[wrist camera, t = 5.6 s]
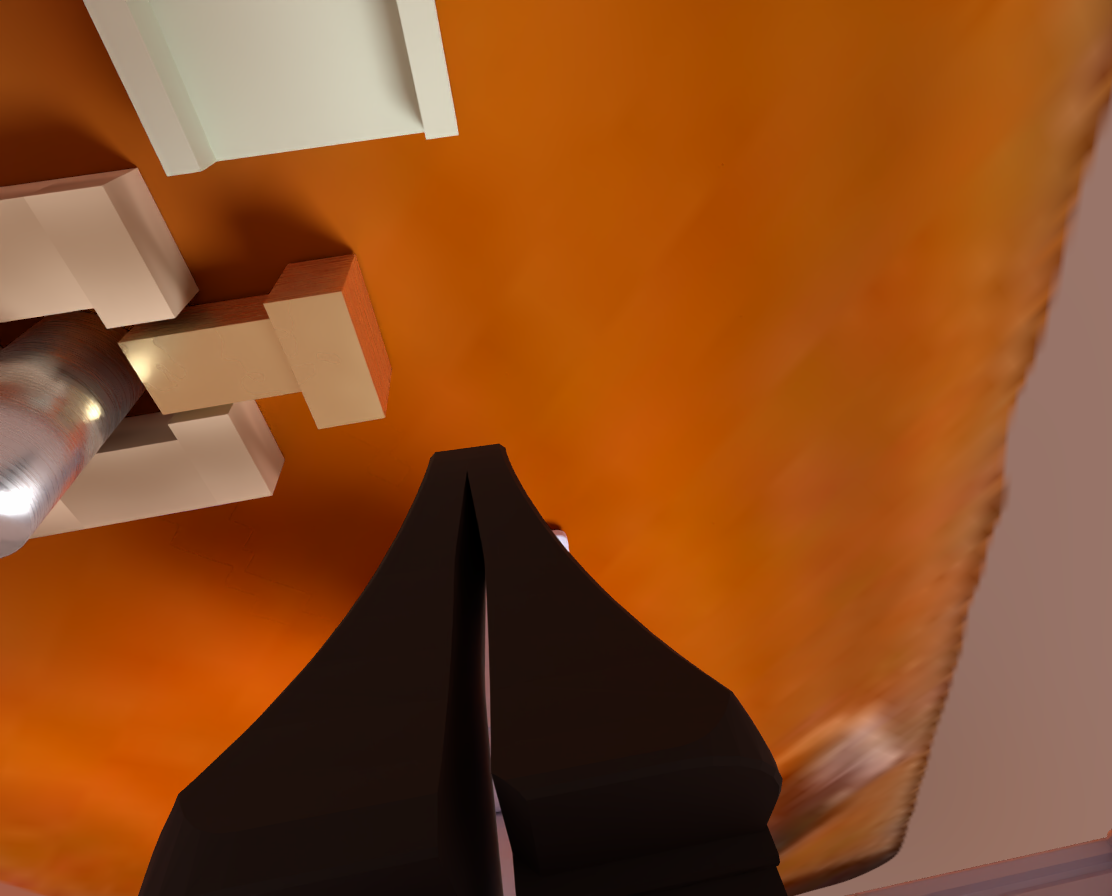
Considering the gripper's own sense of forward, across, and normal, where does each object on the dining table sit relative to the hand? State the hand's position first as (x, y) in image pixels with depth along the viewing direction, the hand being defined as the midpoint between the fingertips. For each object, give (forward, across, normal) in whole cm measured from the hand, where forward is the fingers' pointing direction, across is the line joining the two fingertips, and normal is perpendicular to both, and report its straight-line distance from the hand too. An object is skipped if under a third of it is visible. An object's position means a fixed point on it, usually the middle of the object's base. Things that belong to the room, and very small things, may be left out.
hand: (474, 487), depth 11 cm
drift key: (+9, +6, 0) cm, 11 cm away
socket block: (+9, +12, +1) cm, 15 cm away
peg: (+9, +12, +1) cm, 15 cm away
